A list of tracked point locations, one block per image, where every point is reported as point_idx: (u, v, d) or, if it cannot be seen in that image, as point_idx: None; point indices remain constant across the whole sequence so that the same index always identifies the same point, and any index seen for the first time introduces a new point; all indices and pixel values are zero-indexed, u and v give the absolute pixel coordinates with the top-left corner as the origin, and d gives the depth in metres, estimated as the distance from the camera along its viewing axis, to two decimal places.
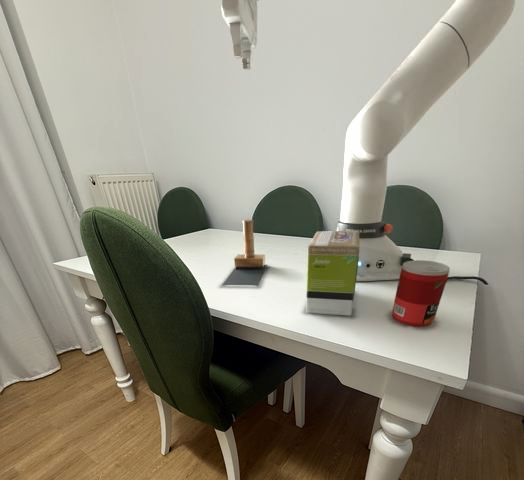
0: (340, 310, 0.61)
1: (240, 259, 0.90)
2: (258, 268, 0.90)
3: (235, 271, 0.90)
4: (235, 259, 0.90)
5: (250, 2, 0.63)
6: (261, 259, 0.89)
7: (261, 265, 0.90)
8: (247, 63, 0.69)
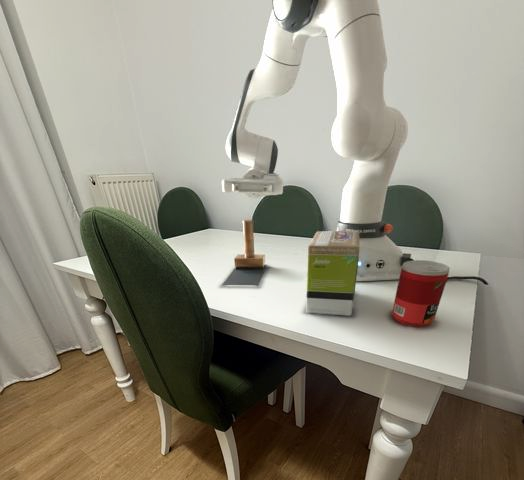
0: (340, 310, 0.61)
1: (240, 259, 0.90)
2: (258, 268, 0.90)
3: (235, 271, 0.90)
4: (235, 259, 0.90)
5: (262, 179, 0.98)
6: (261, 259, 0.89)
7: (261, 265, 0.90)
8: (264, 188, 0.91)
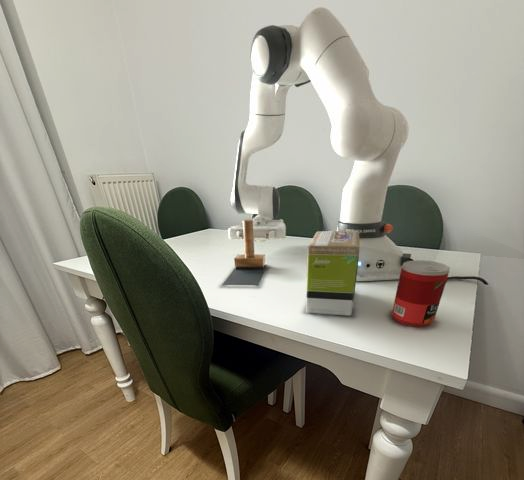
0: (340, 310, 0.61)
1: (240, 259, 0.90)
2: (258, 268, 0.90)
3: (235, 271, 0.90)
4: (235, 259, 0.90)
5: (266, 225, 1.03)
6: (261, 259, 0.89)
7: (261, 265, 0.90)
8: None
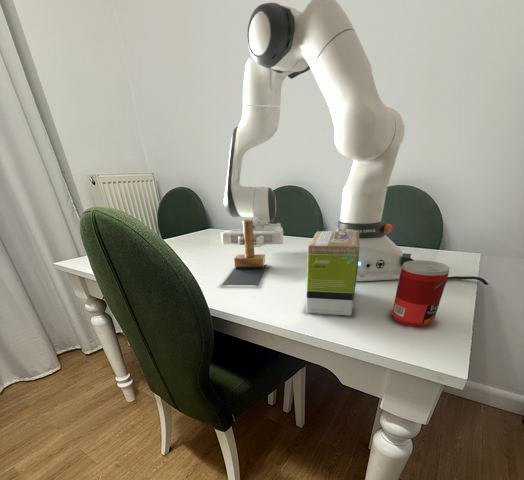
0: (340, 310, 0.61)
1: (240, 259, 0.90)
2: (258, 268, 0.90)
3: (235, 271, 0.90)
4: (235, 259, 0.90)
5: (263, 229, 0.95)
6: (261, 259, 0.89)
7: (261, 265, 0.90)
8: None
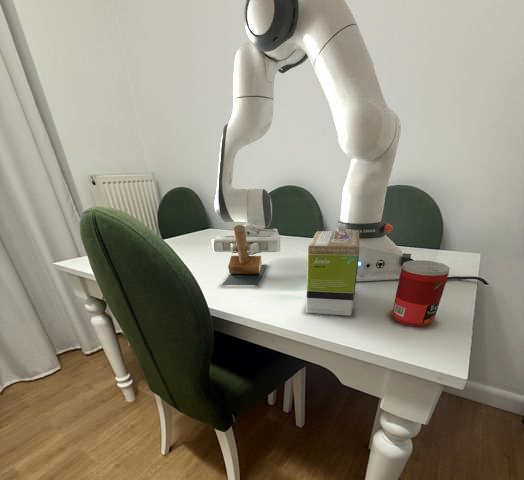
0: (340, 310, 0.61)
1: (234, 267, 0.83)
2: (254, 275, 0.85)
3: None
4: (229, 267, 0.84)
5: (258, 235, 0.87)
6: (257, 267, 0.83)
7: (257, 272, 0.84)
8: None
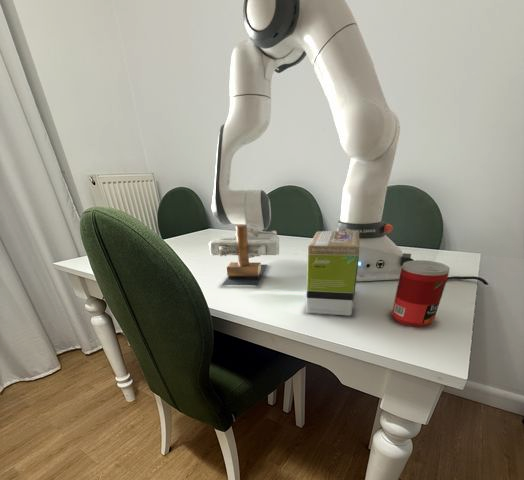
0: (340, 310, 0.61)
1: (233, 268, 0.82)
2: (253, 278, 0.83)
3: None
4: (228, 268, 0.82)
5: (256, 238, 0.84)
6: (256, 268, 0.81)
7: (256, 274, 0.82)
8: None
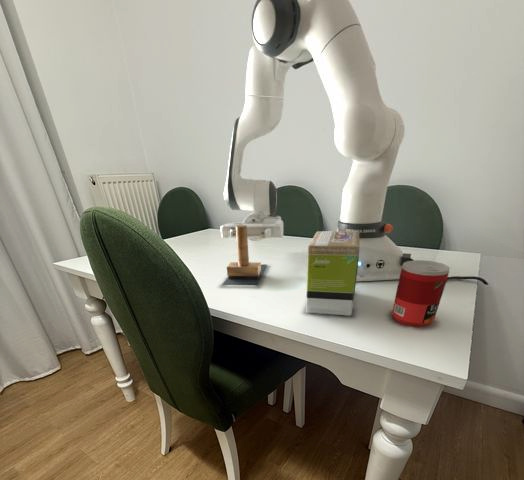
0: (340, 310, 0.61)
1: (233, 268, 0.82)
2: (253, 278, 0.83)
3: None
4: (228, 268, 0.82)
5: (262, 222, 0.94)
6: (256, 268, 0.81)
7: (256, 274, 0.82)
8: None
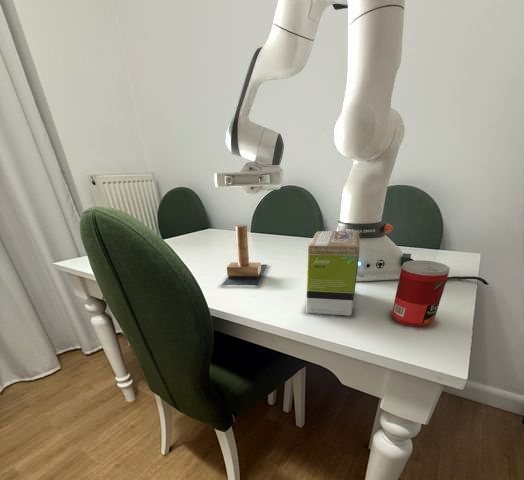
0: (340, 310, 0.61)
1: (233, 268, 0.82)
2: (253, 278, 0.83)
3: None
4: (228, 268, 0.82)
5: (261, 171, 0.87)
6: (256, 268, 0.81)
7: (256, 274, 0.82)
8: None
